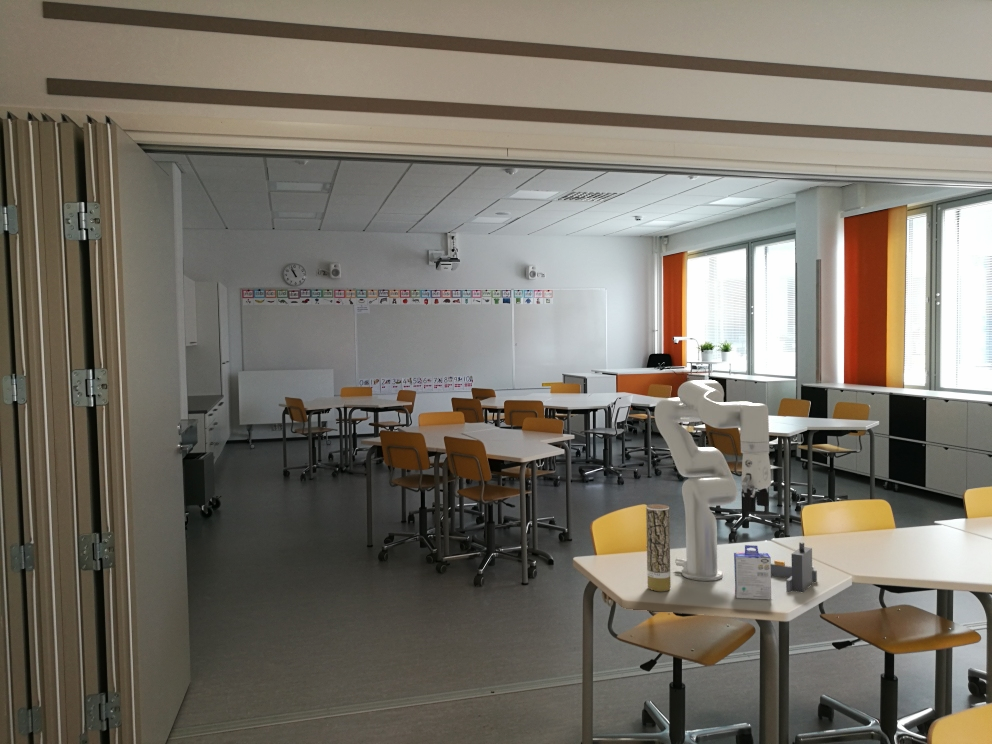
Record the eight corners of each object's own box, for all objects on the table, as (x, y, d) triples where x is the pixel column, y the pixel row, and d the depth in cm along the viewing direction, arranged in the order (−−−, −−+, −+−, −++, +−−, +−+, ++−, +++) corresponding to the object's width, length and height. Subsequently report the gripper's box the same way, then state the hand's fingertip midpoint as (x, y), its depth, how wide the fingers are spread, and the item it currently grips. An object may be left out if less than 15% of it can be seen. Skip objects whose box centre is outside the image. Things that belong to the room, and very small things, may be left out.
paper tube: (666, 593, 211) (664, 509, 211) (644, 590, 215) (642, 507, 214) (673, 587, 217) (672, 505, 217) (652, 584, 220) (650, 503, 220)
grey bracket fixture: (739, 583, 219) (738, 539, 219) (756, 571, 231) (755, 530, 231) (802, 594, 208) (801, 548, 207) (817, 581, 219) (816, 538, 219)
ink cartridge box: (769, 594, 209) (768, 544, 209) (772, 600, 204) (771, 549, 203) (733, 592, 211) (733, 543, 211) (736, 598, 206) (735, 548, 205)
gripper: (756, 451, 191) (758, 515, 191) (779, 445, 204) (780, 505, 204) (729, 449, 196) (730, 512, 196) (753, 444, 209) (754, 502, 209)
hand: (756, 508), depth 200 cm, fingers open, 9 cm apart
